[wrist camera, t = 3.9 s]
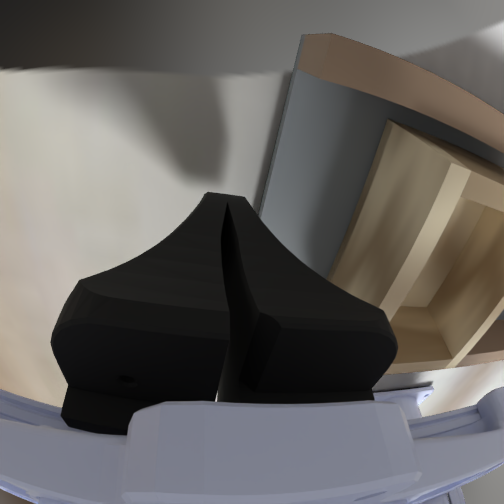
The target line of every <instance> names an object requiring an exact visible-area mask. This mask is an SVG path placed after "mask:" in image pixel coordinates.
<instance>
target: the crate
mask: <svg viewBox="0 0 504 504" xmlns="http://www.w3.org/2000/svg"><path fill="white" fill-rule="evenodd" d="M326 280H328V281H330V282H331V283H333V284H334V285H336V286H338V287H339V288H341V289H343V290H344V291H346V292H348V293H350V294H351V295H353V296H355V297H357V298H359V299H361V300H363V301H365V302H368V303H370V304H372V305H374V306H376V307H378V308H380V309H382V310H384V312H385V314H386V316H387V318H388V320H389V323H390V325H391V327H392V330H393V332H394V334H395V337H396V339H397V343H398V352H397V355H396V358H395V359H394V361H393V363H392V364H391V366H390V367H389V369H388V370H387V371H386V372H385V373H384V375H386V374H400V373H412V372H422V371H431V370H440V369H448V368H455V367H456V365H457V364H458V363H459V362H460V361H461V360H462V359H463V358H464V357H465V356H466V355H467V353H468V352H469V351H470V350H471V349H472V348H473V347H474V345H475V344H476V343H477V342H478V341H479V340H480V338H481V337H482V336H483V335H484V334H485V332H486V331H487V330H488V329H489V327H490V326H491V325H492V324H493V322H494V321H495V320H496V319H497V317H498V316H499V315H500V313H501V312H502V311H503V309H504V168H502V167H500V166H498V165H496V164H494V163H492V162H490V161H488V160H486V159H484V158H482V157H480V156H478V155H476V154H474V153H471V152H469V151H467V150H465V149H463V148H461V147H458V146H456V145H454V144H451V143H449V142H447V141H444V140H442V139H440V138H437V137H435V136H432V135H430V134H427V133H425V132H422V131H420V130H417V129H415V128H412V127H409V126H407V125H404V124H401V123H398V122H395V121H393V120H390V119H387V122H386V125H385V128H384V131H383V134H382V137H381V140H380V143H379V146H378V149H377V152H376V154H375V157H374V160H373V163H372V166H371V168H370V171H369V174H368V177H367V179H366V182H365V185H364V188H363V190H362V193H361V195H360V198H359V201H358V203H357V206H356V209H355V211H354V214H353V216H352V219H351V221H350V224H349V226H348V229H347V231H346V234H345V236H344V239H343V241H342V243H341V246H340V248H339V251H338V253H337V255H336V258H335V260H334V263H333V265H332V267H331V270H330V272H329V274H328V276H327V279H326Z"/></svg>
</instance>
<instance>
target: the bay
mask: <svg viewBox="0 0 504 504" xmlns="http://www.w3.org/2000/svg"><path fill="white" fill-rule="evenodd" d="M387 119H390V120H393V121H395V122H398V123H401V124H404V125H407V126H409V127H412V128H415V129H417V130H420V131H422V132H425V133H427V134H430V135H432V136H435V137H437V138H440V139H442V140H444V141H447V142H449V143H451V144H454V145H456V146H458V147H461V148H463V149H465V150H467V151H469V152H471V153H474V154H476V155H478V156H480V157H482V158H484V159H486V160H488V161H490V162H492V163H494V164H496V165H498V166H500V167H502V168H504V114H503V113H501V112H500V111H498V110H497V109H495V108H493V107H492V106H490V105H489V104H487V103H486V102H484V101H482V100H481V99H479V98H477V97H476V96H474V95H472V94H471V93H469V92H467V91H465V90H464V89H462V88H460V87H458V86H456V85H455V84H453V83H451V82H449V81H447V80H445V79H443V78H441V77H439V76H437V75H435V74H433V73H431V72H429V71H427V70H425V69H423V68H421V67H419V66H417V65H414V64H412V63H410V62H408V61H405V60H403V59H401V58H398V57H396V56H394V55H391V54H389V53H386V52H384V51H381V50H379V49H376V48H373V47H371V46H368V45H365V44H363V43H360V42H357V41H354V40H351V39H348V38H345V37H342V36H339V35H336V34H332V33H328V34H308V35H302V36H301V40H300V44H299V49H298V53H297V57H296V61H295V65H294V69H293V73H292V77H291V82H290V86H289V90H288V94H287V98H286V102H285V106H284V111H283V115H282V119H281V123H280V127H279V131H278V135H277V140H276V144H275V148H274V152H273V156H272V160H271V165H270V169H269V173H268V177H267V181H266V185H265V190H264V194H263V198H262V202H261V206H260V211H259V215H258V216H259V218H260V219H261V220H262V221H263V223H264V224H265V225H266V226H267V228H268V229H269V230H270V231H271V232H272V233H273V234H274V235H275V237H276V238H277V239H278V240H279V241H280V242H281V243H282V244H283V245H284V246H285V247H286V248H287V249H288V250H289V251H290V252H292V253H293V254H294V255H295V256H296V257H297V258H298V259H299V260H301V261H302V262H303V263H304V264H306V265H307V266H308V267H309V268H311V269H312V270H314V271H315V272H316V273H318V274H319V275H321V276H322V277H323V278H325V279H327V276H328V274H329V272H330V270H331V267H332V265H333V263H334V260H335V258H336V255H337V253H338V251H339V248H340V246H341V243H342V241H343V239H344V236H345V234H346V231H347V229H348V226H349V224H350V221H351V219H352V216H353V214H354V211H355V209H356V206H357V203H358V201H359V198H360V195H361V193H362V190H363V188H364V185H365V182H366V179H367V177H368V174H369V171H370V168H371V166H372V163H373V160H374V157H375V154H376V152H377V149H378V146H379V143H380V140H381V137H382V134H383V131H384V128H385V125H386V122H387ZM500 360H504V309H503V311H502V312H501V313H500V315H499V316H498V317H497V319H496V320H495V321H494V322H493V324H492V325H491V326H490V327H489V329H488V330H487V331H486V332H485V334H484V335H483V336H482V337H481V338H480V340H479V341H478V342H477V343H476V344H475V345H474V347H473V348H472V349H471V350H470V351H469V352H468V353H467V355H466V356H465V357H464V358H463V359H462V360H461V361H460V362H459V363H458V364H457V365H456V367H463V366H470V365H476V364H482V363H488V362H494V361H500ZM456 367H455V368H456ZM431 371H432V370H431Z"/></svg>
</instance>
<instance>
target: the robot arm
mask: <svg viewBox="0 0 504 504" xmlns="http://www.w3.org/2000/svg"><path fill="white" fill-rule="evenodd" d="M50 343H51V347H52V350H53V354H54V356H55V358H56V360H57V363H58V365H59V367H60V369H61V371H62V373H63V375H64V377H65V379H66V381H67V383H68V388H67V392H66V395H65V399H64V403H63V407H62V408H60V407H56V406H53V405H49V404H45V403H42V402H38V401H35V400H32V399H29V398H25V397H22V396H19V395H16V394H13V393H10V392H7V391H4V390H2V389H0V489H2V490H4V491H7V492H9V493H11V494H14V495H16V496H19V497H21V498H23V499H25V500H28V501H31V502H33V503H36V504H449V502H450V504H466V503H465V499H464V496H463V493H462V490H461V487H460V486H463V485H465V484H467V483H469V482H471V481H473V480H475V479H477V478H479V477H481V476H483V475H485V474H487V473H489V472H491V471H492V470H494V469H496V468H497V467H499V466H501V465H502V464H504V387H501V388H497V389H494V390H492V391H491V392H489V393H488V394H486V395H485V396H484V397H483V398H482V399H480V400H479V401H478V403H477V404H476V405H472V406H469V407H465V408H461V409H457V410H453V411H449V412H445V413H441V414H436V415H432V416H427V417H422V415H421V412H420V409H419V406H418V405H420V404H421V403H422V402H423V401H424V400H425V399H426V398H427V397H428V396H429V395H430V394H431V393H432V392H433V391H434V388H433V387H432V386H430V387H423V388H415V389H407V390H398V391H389V392H378V393H373V392H372V387H373V386H374V385H375V384H376V383H377V382H378V380H379V379H380V378H381V377H382V376H383V375H384V373H385V372H386V371H387V370H388V369H389V367H390V366H391V364H392V363H393V361H394V359H395V358H396V355H397V352H398V343H397V339H396V337H395V334H394V332H393V330H392V327H391V325H390V323H389V320H388V318H387V316H386V314H385V312H384V310H382V309H380V308H378V307H376V306H374V305H372V304H370V303H368V302H365V301H363V300H361V299H359V298H357V297H355V296H353V295H351V294H350V293H348V292H346V291H344V290H343V289H341V288H339V287H338V286H336V285H334V284H333V283H331V282H330V281H328V280H326V279H325V278H323V277H322V276H321V275H319V274H318V273H316V272H315V271H314V270H312V269H311V268H309V267H308V266H307V265H306V264H304V263H303V262H302V261H301V260H299V259H298V258H297V257H296V256H295V255H294V254H293V253H292V252H290V251H289V250H288V249H287V248H286V247H285V246H284V245H283V244H282V243H281V242H280V241H279V240H278V239H277V238H276V237H275V235H274V234H273V233H272V232H271V231H270V230H269V229H268V228H267V226H266V225H265V224H264V223H263V221H262V220H261V219H260V218H259V216H258V215H257V214H256V212H255V211H254V209H253V208H252V207H251V205H250V204H249V202H248V201H247V200H246V198H245V197H242V196H235V195H228V194H220V193H213V192H207V193H206V194H204V196H203V198H202V200H201V201H200V203H199V204H198V205H197V207H196V208H195V209H194V210H193V212H192V213H191V214H190V215H189V216H188V217H187V218H186V220H185V221H184V222H182V223H181V224H180V225H179V226H178V227H177V228H176V229H175V230H174V231H173V232H172V233H171V234H170V235H169V236H167V237H166V238H165V239H164V240H162V241H161V242H160V243H158V244H157V245H155V246H154V247H152V248H151V249H149V250H148V251H146V252H144V253H143V254H141V255H139V256H138V257H136V258H134V259H132V260H130V261H128V262H126V263H123V264H121V265H119V266H117V267H114V268H112V269H110V270H107V271H104V272H101V273H99V274H96V275H93V276H90V277H87V278H84V279H81V280H79V281H78V283H77V285H76V286H75V288H74V290H73V291H72V292H71V294H70V296H69V297H68V299H67V301H66V303H65V304H64V306H63V309H62V311H61V313H60V315H59V318H58V320H57V323H56V325H55V327H54V330H53V332H52V337H51V342H50ZM217 390H218V396H217V402H215V399H216V395H217ZM447 492H448V496H447ZM448 498H449V500H448Z"/></svg>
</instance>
